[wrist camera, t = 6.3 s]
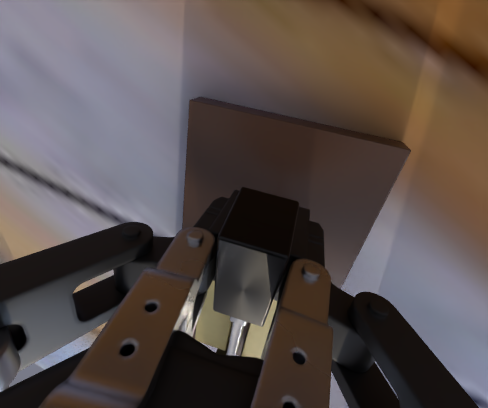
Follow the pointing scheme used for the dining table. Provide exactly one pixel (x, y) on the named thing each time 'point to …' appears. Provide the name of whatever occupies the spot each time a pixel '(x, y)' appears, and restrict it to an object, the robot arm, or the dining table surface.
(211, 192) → the board
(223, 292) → the knife
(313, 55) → the dining table surface
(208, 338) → the yellow slotted block
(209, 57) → the dining table surface
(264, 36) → the dining table surface
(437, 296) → the dining table surface
